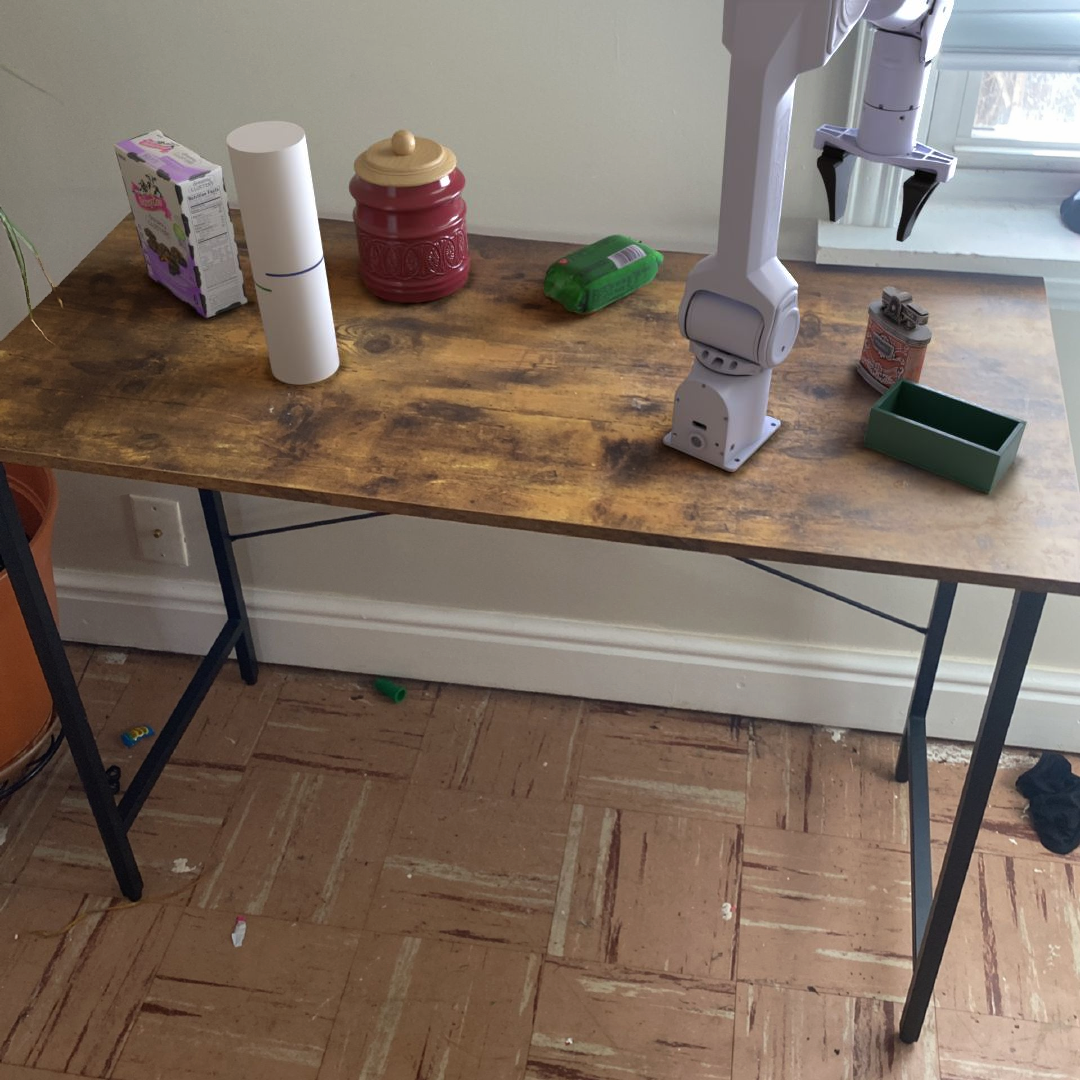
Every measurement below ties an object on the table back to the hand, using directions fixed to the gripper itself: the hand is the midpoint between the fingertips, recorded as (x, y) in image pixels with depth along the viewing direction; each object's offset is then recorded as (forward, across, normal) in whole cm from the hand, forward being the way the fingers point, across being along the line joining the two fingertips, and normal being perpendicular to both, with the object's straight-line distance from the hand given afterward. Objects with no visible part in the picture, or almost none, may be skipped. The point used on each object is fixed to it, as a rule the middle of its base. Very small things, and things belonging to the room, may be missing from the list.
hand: (869, 227), depth 125 cm
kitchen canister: (+10, +45, +23) cm, 52 cm away
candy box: (+10, +64, +40) cm, 76 cm away
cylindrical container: (+10, +42, +44) cm, 62 cm away
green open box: (+10, -18, +19) cm, 28 cm away
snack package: (+10, +25, +13) cm, 30 cm away
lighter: (+10, -9, +11) cm, 18 cm away
